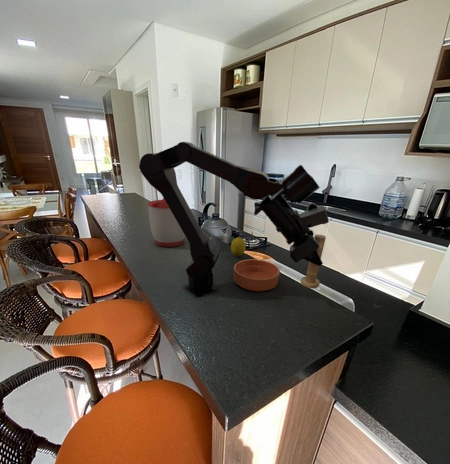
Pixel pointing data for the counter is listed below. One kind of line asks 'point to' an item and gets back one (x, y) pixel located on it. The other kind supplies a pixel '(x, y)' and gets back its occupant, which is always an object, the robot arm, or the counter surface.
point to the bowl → (256, 275)
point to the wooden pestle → (314, 266)
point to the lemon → (238, 246)
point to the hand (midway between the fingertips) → (320, 262)
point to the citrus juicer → (164, 224)
